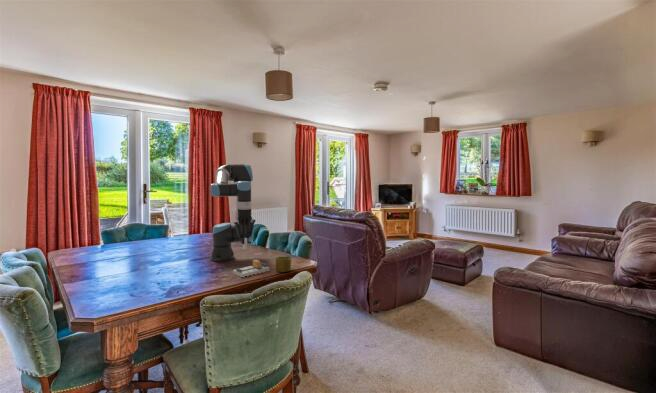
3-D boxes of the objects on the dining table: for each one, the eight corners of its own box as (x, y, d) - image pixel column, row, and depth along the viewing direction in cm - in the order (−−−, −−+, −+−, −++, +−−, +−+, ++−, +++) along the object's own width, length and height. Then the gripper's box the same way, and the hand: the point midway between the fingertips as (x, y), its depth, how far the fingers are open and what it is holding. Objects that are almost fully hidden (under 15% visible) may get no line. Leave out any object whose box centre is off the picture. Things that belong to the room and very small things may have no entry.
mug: (290, 271, 184) (286, 254, 186) (274, 275, 186) (270, 258, 188) (298, 269, 196) (294, 253, 197) (282, 272, 198) (279, 257, 200)
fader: (252, 266, 190) (252, 260, 190) (256, 265, 192) (256, 259, 192) (256, 268, 187) (256, 261, 187) (260, 267, 189) (260, 261, 189)
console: (233, 273, 185) (233, 267, 185) (260, 267, 197) (260, 261, 197) (241, 277, 178) (241, 271, 178) (269, 270, 190) (269, 265, 190)
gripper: (237, 210, 174) (237, 252, 177) (258, 208, 183) (258, 248, 186) (230, 208, 180) (231, 249, 182) (251, 206, 189) (251, 245, 191)
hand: (244, 249), depth 184 cm, fingers closed
